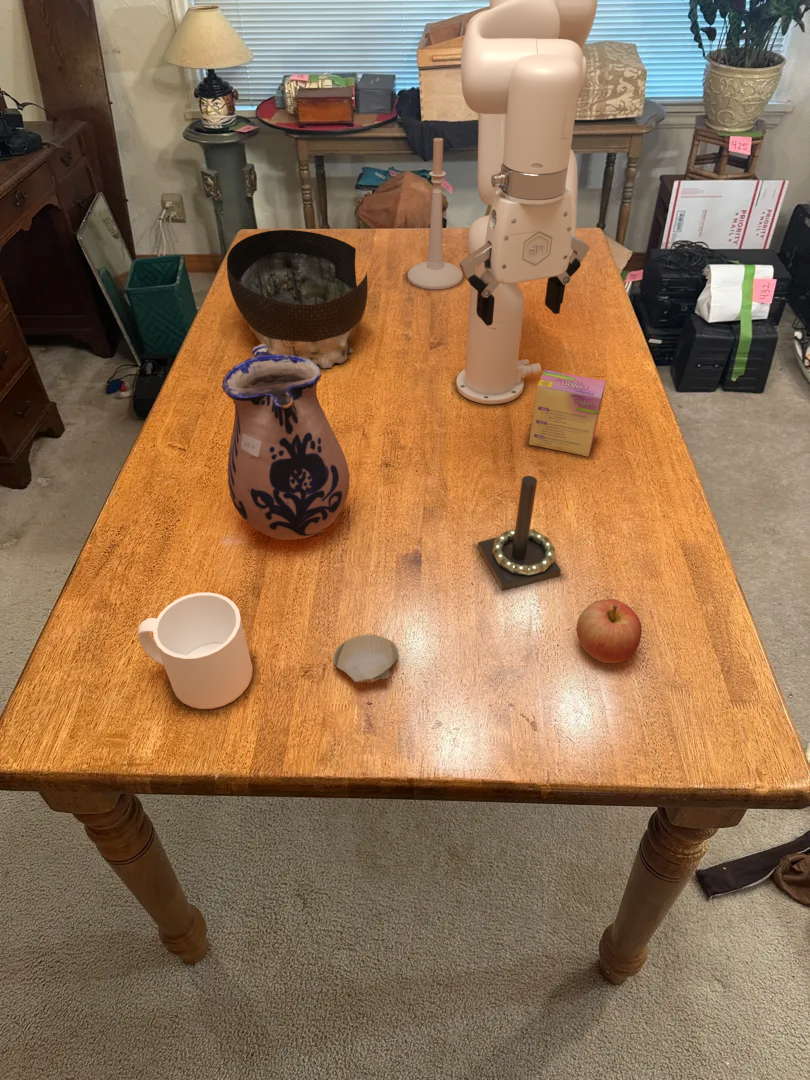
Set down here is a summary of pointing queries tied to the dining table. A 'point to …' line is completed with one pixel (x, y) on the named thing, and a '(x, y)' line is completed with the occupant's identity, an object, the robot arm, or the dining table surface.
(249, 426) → the ceramic pitcher
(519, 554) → the stand
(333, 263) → the basket
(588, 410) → the box
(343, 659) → the seashell
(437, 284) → the candlestick
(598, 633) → the apple
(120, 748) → the dining table surface
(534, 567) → the beaded ring
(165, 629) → the mug
